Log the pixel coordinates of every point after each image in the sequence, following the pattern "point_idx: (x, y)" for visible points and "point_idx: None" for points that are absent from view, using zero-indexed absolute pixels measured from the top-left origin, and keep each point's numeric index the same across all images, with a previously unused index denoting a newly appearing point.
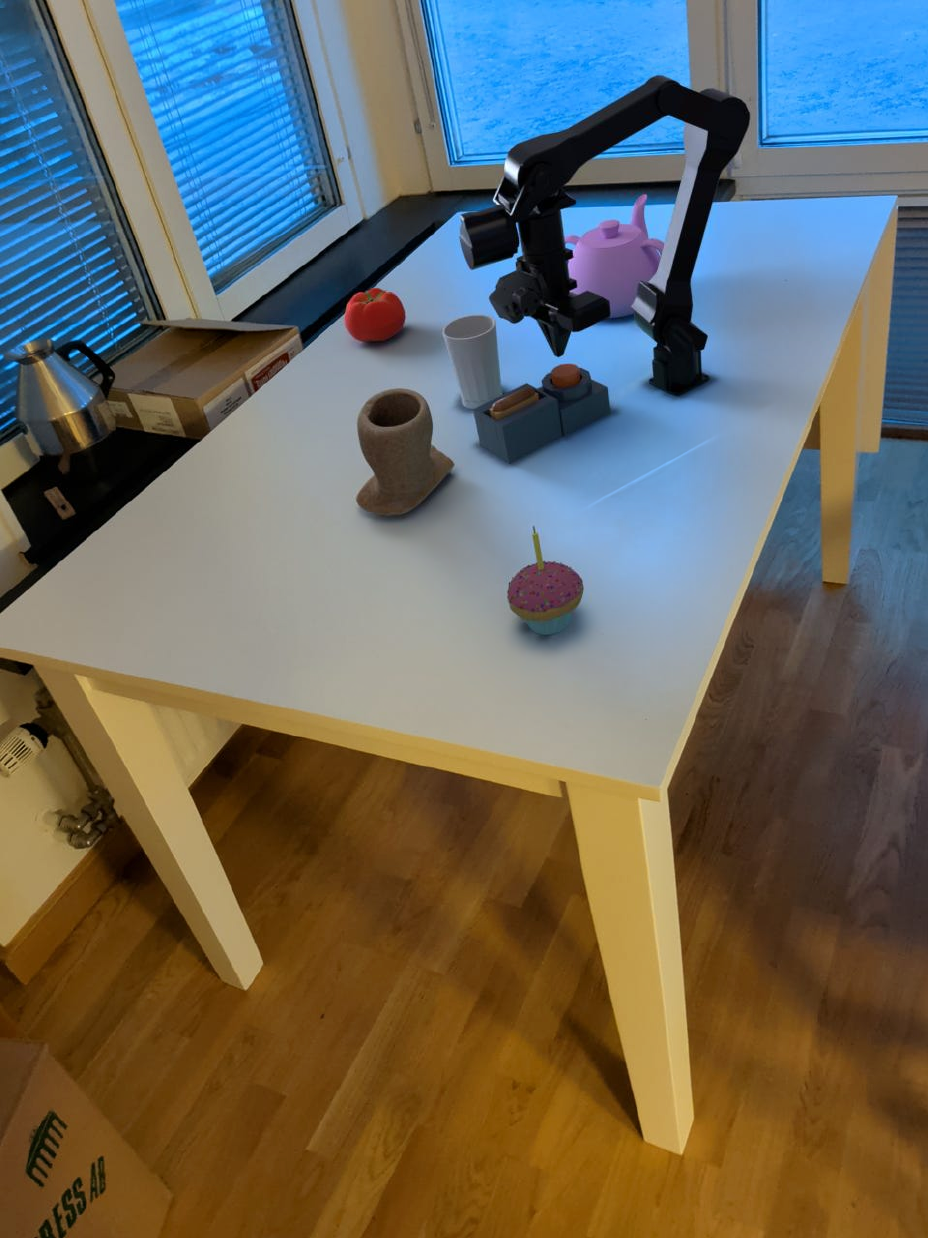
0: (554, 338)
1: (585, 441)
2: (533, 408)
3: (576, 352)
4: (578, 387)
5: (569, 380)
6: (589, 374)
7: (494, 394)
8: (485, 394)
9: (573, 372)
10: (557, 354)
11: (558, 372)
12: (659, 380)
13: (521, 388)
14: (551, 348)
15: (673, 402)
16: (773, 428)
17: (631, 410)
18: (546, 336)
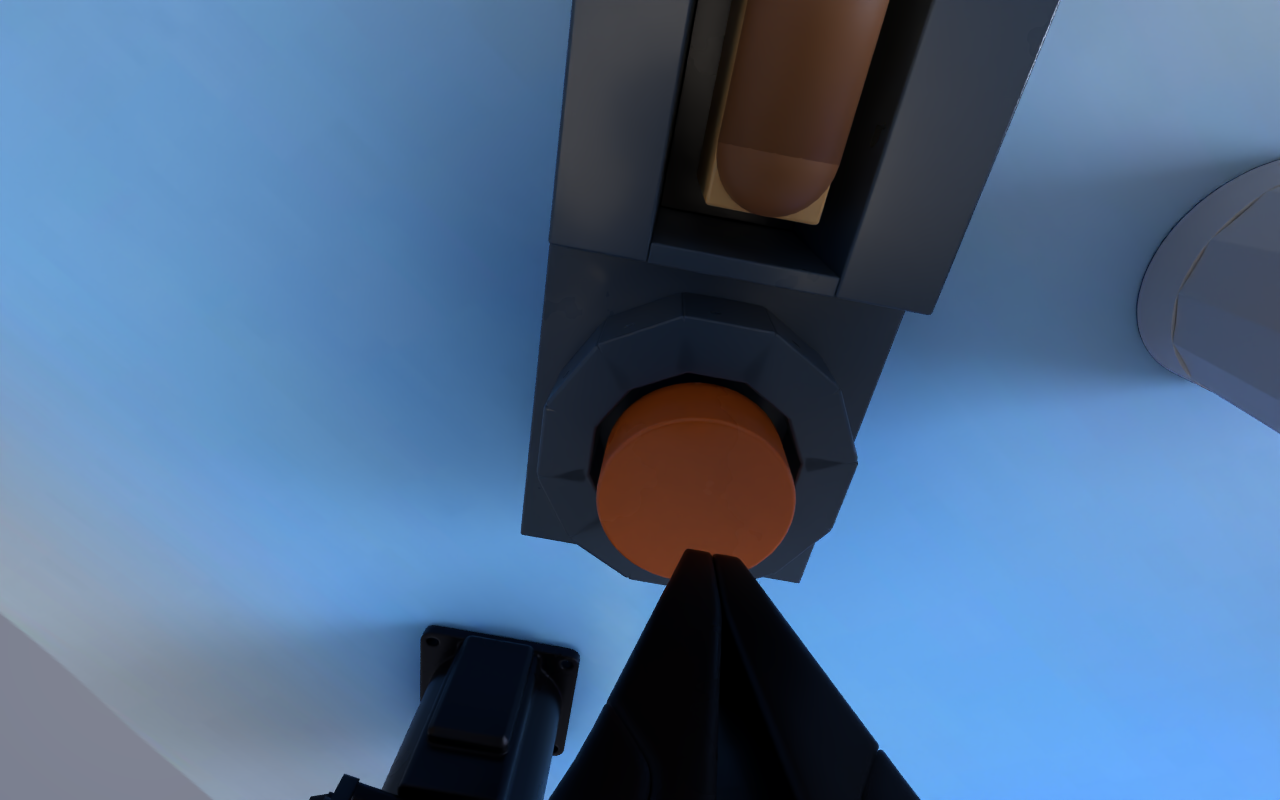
0: (615, 714)
1: (464, 227)
2: (603, 15)
3: (984, 710)
4: (542, 426)
5: (609, 442)
6: (597, 556)
7: (1194, 288)
8: (1257, 234)
9: (616, 507)
10: (679, 562)
11: (715, 468)
12: (486, 663)
13: (923, 232)
14: (756, 601)
15: (413, 594)
16: (47, 595)
17: (495, 502)
18: (817, 722)
